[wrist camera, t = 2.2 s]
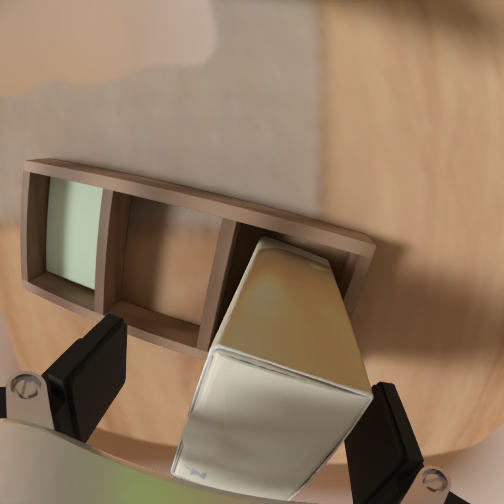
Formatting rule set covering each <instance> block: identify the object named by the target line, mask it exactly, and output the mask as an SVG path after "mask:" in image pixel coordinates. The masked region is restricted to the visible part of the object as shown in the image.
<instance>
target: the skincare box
mask: <svg viewBox="0 0 504 504" xmlns="http://www.w3.org/2000/svg"><path fill="white" fill-rule="evenodd" d="M372 400H373V393H372V390H371V386H370V383H369V380H368V377H367V373H366V370H365V366H364V363H363V360H362V357H361V354H360V351H359V348H358V344H357V341H356V338H355V336H354V333H353V330H352V327H351V324H350V321H349V318H348V315H347V312H346V309H345V306H344V303H343V300H342V297H341V294H340V291H339V289H338V286H337V284H336V281H335V278H334V275H333V272H332V270H331V267H330V264H329V261H328V260H327V259H324V258H322V257H320V256H317V255H315V254H312V253H310V252H307V251H305V250H302V249H300V248H297V247H294V246H292V245H289V244H286V243H283V242H281V241H278V240H275V239H272V238H269V237H266V236H262V237H261V238H260V239H259V242H258V244H257V246H256V248H255V251H254V253H253V255H252V257H251V260H250V262H249V264H248V266H247V268H246V271H245V273H244V275H243V277H242V279H241V282H240V284H239V286H238V288H237V290H236V293H235V295H234V297H233V299H232V301H231V304H230V306H229V308H228V310H227V312H226V315H225V317H224V319H223V321H222V323H221V325H220V328H219V330H218V332H217V334H216V337H215V339H214V341H213V343H212V345H211V348H210V350H209V353H208V357H207V360H206V363H205V365H204V368H203V371H202V374H201V377H200V380H199V383H198V386H197V389H196V392H195V395H194V397H193V400H192V404H191V407H190V410H189V413H188V416H187V419H186V422H185V426H184V429H183V432H182V435H181V439H180V442H179V445H178V449H177V452H176V455H175V458H174V462H173V465H172V468H171V473H172V474H173V475H175V476H177V477H180V478H183V479H187V480H190V481H193V482H195V483H198V484H201V485H204V486H208V487H212V488H216V489H221V490H225V491H230V492H235V493H240V494H245V495H251V496H257V497H263V498H270V499H277V500H285V501H289V500H290V499H291V498H293V497H294V496H295V495H296V494H297V493H298V492H299V491H300V490H302V488H303V487H305V486H306V484H307V483H308V482H310V481H311V479H312V478H313V477H314V476H315V475H316V474H317V473H318V472H319V470H320V469H321V468H322V467H323V466H324V465H325V464H326V462H327V461H328V460H329V459H330V458H331V456H332V455H333V454H334V453H335V452H336V450H337V449H338V448H339V447H340V445H341V444H342V442H343V441H344V440H345V439H346V437H347V436H348V435H349V433H350V432H351V430H352V429H353V428H354V426H355V425H356V424H357V422H358V421H359V419H360V418H361V416H362V414H363V413H364V412H365V410H366V409H367V407H368V406H369V404H370V403H371V401H372Z"/></svg>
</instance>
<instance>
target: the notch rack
mask: <svg viewBox="0 0 504 504" xmlns="http://www.w3.org/2000/svg"><path fill="white" fill-rule="evenodd" d="M51 177H55V178H60V179H64V180H69V181H73V182H78V183H82V184H87V185H91V186H95V187H100V188H103V192H102V200H101V208H100V217H99V227H98V238H97V252H96V269H95V290H93V289H90V288H88V287H85V286H83V285H80V284H78V283H75V282H73V281H70V280H68V279H65V278H63V277H60V276H58V275H56V274H53V273H51V272H49V271H47V270H46V240H47V215H48V200H49V189H50V179H51ZM132 195H134V196H138V197H142V198H146V199H150V200H154V201H159V202H163V203H167V204H171V205H175V206H179V207H183V208H187V209H191V210H195V211H199V212H203V213H207V214H211V215H215V216H218V217H222V218H223V219H222V224H221V229H220V233H219V238H218V242H217V247H216V252H215V256H214V261H213V266H212V270H211V275H210V280H209V285H208V290H207V295H206V300H205V305H204V310H203V315H202V320H201V325H200V326H197V325H194V324H191V323H188V322H184V321H181V320H178V319H175V318H172V317H169V316H166V315H163V314H160V313H157V312H154V311H151V310H148V309H145V308H142V307H139V306H136V305H133V304H131V303H128V302H125V301H122V300H121V290H122V277H123V265H124V255H125V245H126V237H127V228H128V221H129V213H130V206H131V200H132ZM242 223H245V224H249V225H253V226H257V227H261V228H264V229H268V230H272V231H275V232H279V233H283V234H287V235H290V236H294V237H298V238H301V239H305V240H309V241H312V242H316V243H319V244H323V245H327V246H330V247H334V248H337V249H341V250H344V251H348V255H347V258H346V261H345V264H344V267H343V270H342V273H341V276H340V278H339V281H338V284H337V286H338V289H339V291H340V294H341V297H342V300H343V303H344V306H345V309H346V312H347V315H348V318H349V319H350V317H351V314H352V312H353V309H354V307H355V304H356V301H357V299H358V296H359V294H360V291H361V288H362V286H363V283H364V280H365V278H366V275H367V272H368V269H369V267H370V264H371V261H372V258H373V255H374V252H375V249H376V246H377V245H376V244H375V243H374V242H373V241H372V240H371V239H370V238H369V237H368V236H367V235H366V234H363V233H360V232H356V231H353V230H350V229H346V228H343V227H339V226H336V225H332V224H329V223H325V222H322V221H318V220H315V219H311V218H308V217H304V216H300V215H297V214H293V213H289V212H286V211H282V210H278V209H275V208H271V207H267V206H263V205H259V204H255V203H252V202H248V201H244V200H240V199H236V198H232V197H228V196H224V195H220V194H216V193H211V192H207V191H203V190H199V189H195V188H190V187H186V186H182V185H177V184H173V183H169V182H164V181H160V180H155V179H151V178H146V177H141V176H137V175H132V174H127V173H122V172H117V171H112V170H107V169H102V168H97V167H92V166H87V165H82V164H76V163H71V162H66V161H60V160H54V159H49V158H47V159H35V160H25V164H24V173H23V185H22V200H21V233H20V239H21V272H22V287H23V288H24V289H26V290H28V291H30V292H32V293H34V294H36V295H38V296H40V297H42V298H45V299H47V300H49V301H51V302H53V303H55V304H57V305H59V306H62V307H64V308H66V309H68V310H70V311H73V312H75V313H77V314H79V315H82V316H84V317H86V318H89V319H91V320H93V321H96V322H98V323H99V322H100V321H101V320H102V319H103V318H104V317H105V316H106V315H107V314H109V313H110V314H113V315H116V316H119V317H121V318H123V319H124V323H126V324H127V334H129V335H131V336H134V337H136V338H139V339H142V340H145V341H147V342H150V343H153V344H156V345H159V346H162V347H164V348H167V349H170V350H173V351H176V352H179V353H182V354H185V355H189V356H192V357H195V358H198V359H201V360H205V361H206V360H207V357H208V353H209V350H210V348H211V345H212V343H213V341H214V339H215V337H216V334H217V327H218V323H219V318H220V314H221V309H222V305H223V301H224V296H225V292H226V288H227V283H228V279H229V275H230V270H231V266H232V262H233V257H234V253H235V249H236V245H237V240H238V236H239V232H240V228H241V224H242Z"/></svg>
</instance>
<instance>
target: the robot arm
mask: <svg viewBox="0 0 504 504" xmlns="http://www.w3.org/2000/svg"><path fill="white" fill-rule="evenodd" d="M126 349H127V324H126V323H124V319H123V318H121V317H119V316H116V315H113V314H110V313H109V314H107V315H106V316H105V317H104V318H103V319H102V320H101V321H100V322H99V323H98V324H97V325H96V326H95V327H94V328H92V329H91V330H90V331H89V332H88V333H87V334H86V335H85V336H84V337H83V338H80V339H78V340H76V341H75V342H74V343H73V344H72V345H71V346H70V347H69V348H68V349H67V350H66V351H65V352H64V353H63V354H62V355H61V356H60V357H59V358H58V359H57V360H56V361H55V362H54V363H53V364H52V365H51V366H50V367H49V368H48V369H47V370H46V371H45V372H44V373H43V374H42V375H41V376H40V375H39V374H37V373H35V372H32V371H20V372H17V373H15V374H13V375H12V376H10V377H9V379H8V381H7V384H6V387H0V504H316V503H303V502H293V501H285V500H277V499H270V498H263V497H257V496H251V495H245V494H240V493H235V492H230V491H225V490H221V489H216V488H212V487H208V486H204V485H200V484H196V483H192V482H189V481H185V480H182V479H178V478H175V477H172V476H168V475H165V474H162V473H159V472H156V471H153V470H150V469H147V468H144V467H142V466H139V465H136V464H133V463H131V462H128V461H126V460H123V459H120V458H118V457H115V456H113V455H110V454H108V453H105V452H103V451H101V450H98V449H96V448H94V447H92V446H89V445H87V444H85V443H86V442H87V440H88V439H89V437H90V435H91V434H92V432H93V431H94V429H95V428H96V426H97V425H98V423H99V421H100V420H101V418H102V417H103V415H104V414H105V412H106V411H107V409H108V408H109V406H110V405H111V403H112V402H113V400H114V399H115V397H116V396H117V394H118V393H119V391H120V390H121V388H122V387H123V385H124V383H125V379H126ZM371 390H372V393H373V400H372V401H371V403H370V404H369V406H368V407H367V409H366V410H365V412H364V413H363V414H362V416H361V418H360V419H359V421H358V422H357V424H356V425H355V426H354V428H353V429H352V430H351V432H350V433H349V435H348V436H347V437H346V439H345V440H344V443H345V449H346V455H347V462H348V469H349V475H350V482H351V490H352V497H353V504H470V503H468V502H466V501H465V500H463V499H461V498H460V497H458V496H456V495H455V494H453V493H452V492H450V491H449V490H450V486H451V481H450V478H449V476H448V474H447V473H446V472H445V471H444V470H442V469H441V468H439V467H436V466H425V467H424V465H423V461H424V460H423V457H422V454H421V451H420V449H419V446H418V443H417V441H416V438H415V435H414V433H413V430H412V427H411V425H410V422H409V420H408V417H407V415H406V412H405V410H404V407H403V405H402V402H401V400H400V397H399V395H398V393H397V390H396V388H395V385H394V384H392V383H386V382H379V383H377V385H373V386H372V388H371Z"/></svg>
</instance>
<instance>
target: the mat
mask: <svg viewBox="0 0 504 504" xmlns="http://www.w3.org/2000/svg"><path fill="white" fill-rule="evenodd" d="M102 192H103V188H100V187H95V186H91V185H87V184H82V183H78V182H73V181H69V180H64V179H60V178H55V177H51V179H50V189H49V200H48V215H47V240H46V270H47V271H50V272H52V273H54V274H57V275H59V276H62V277H64V278H67V279H69V280H71V281H74V282H76V283H79V284H81V285H84V286H87V287H89V288H92V289H94V290H95V269H96V252H97V238H98V227H99V217H100V208H101V200H102Z"/></svg>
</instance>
